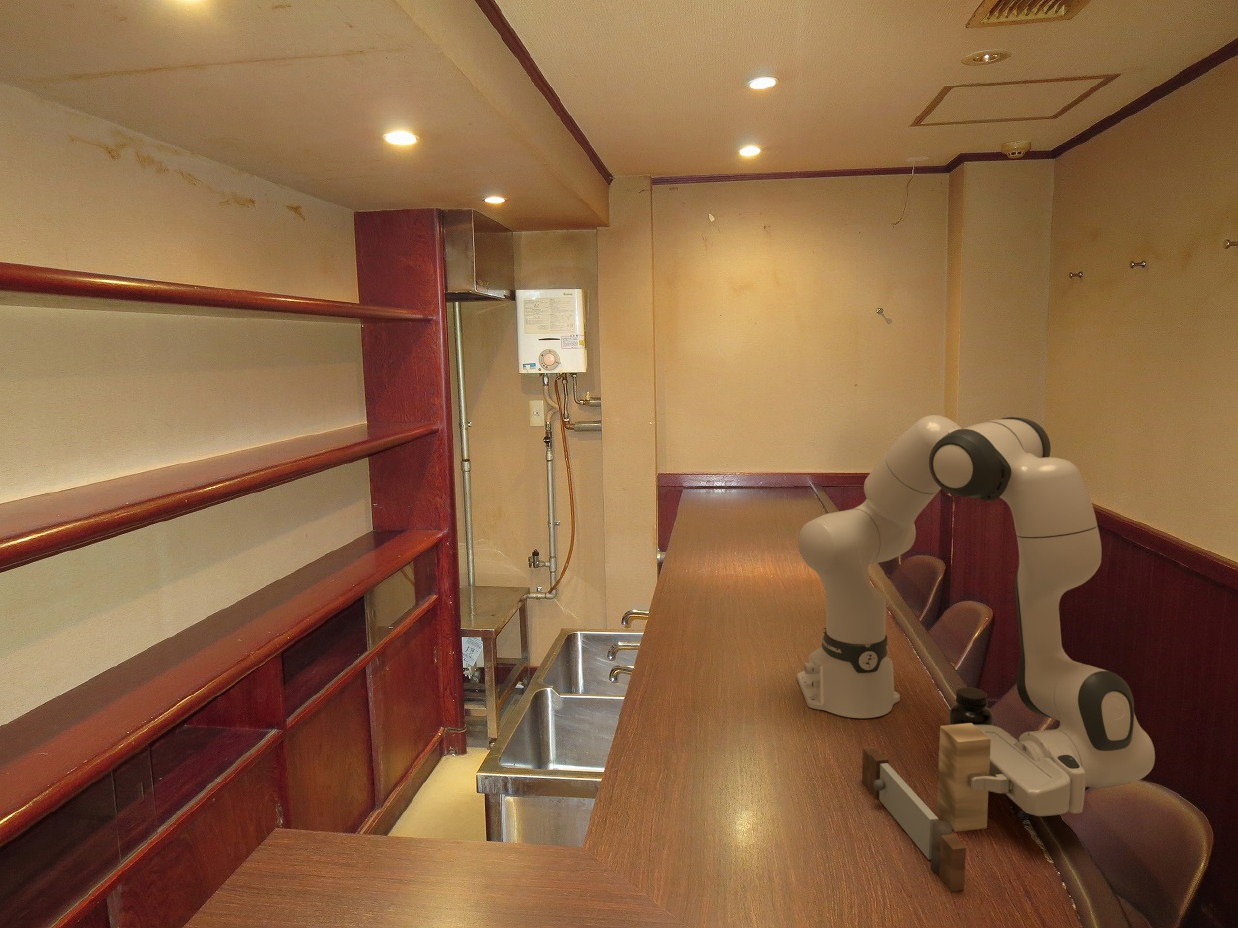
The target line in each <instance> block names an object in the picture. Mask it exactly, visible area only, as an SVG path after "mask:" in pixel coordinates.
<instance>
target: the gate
mask: <svg viewBox="0 0 1238 928" xmlns="http://www.w3.org/2000/svg"><path fill="white" fill-rule="evenodd" d="M874 787H875V789H876V790H878V791H879V799H878V800H879V801H880V802H881V804H882V805H883V806H884V807H885V808H886V810H887V811H888V812H889V813H890V815H891V816H892V817H893V818H894V820H895V821H896V822H897V823H898V825H899V826H900V827H901V828H902V829H903V830H904V831H905V833H906V834H907V835H908V836H909V838H910V839H911V841H912V842H914V844H915V845H916V846H917V847H918V848H919V850H920V851H921V852H922V854H923V855H924V856H925V857H926V858H927V860H930V861H931V851H932V824H933V822H934V821H937V820H939V818H938V817H937V815H936V814H934V812H933V811H932V810H931V809H930V808H929V807H928V806H927V805H926V803H924V801H923V800H922V798H920V797H919V796H918V795H917V794H916V792H915V791H914V790H913V789H912V788H911V787H910V786H909V785H908V783H906V782H905V781H904V780H903V778H902V777H901V776H900V775H899V774H898V773H897V772H896V771H895V769H894V768H893V767H892V766H891V765H890V764H889V762H888V763H884V764H880V780H876V781H875V782H874Z"/></svg>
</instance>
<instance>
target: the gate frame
mask: <svg viewBox="0 0 1238 928" xmlns="http://www.w3.org/2000/svg"><path fill="white" fill-rule="evenodd" d="M884 763H888V764H889V758H888V757H887V756H886V755H885V753H883V752H881V753H880V752H879V751H878V750H877V749H876V748H875V746H867V747H863V748H862V767H861V768H862V770H861V772H862V773H861V774H862V775H861V776H862V777H861V783H862V784H863V785H864V787H865V788H866V789H867V790H868V791H869V793H870V795H872V797H873V799H874V800H879V791H878V790H876V789H875V787H874V782H875V781H876V780H880V764H884ZM952 830H953V829H952V826H951V825H950V824H949V823H947V822H945V821H944V820H942V819H941V820H940V819H938V820H937V821H934V822H933V824H932V851H931V859H930V870H931V871H932V872H933V873H934V874H936V875H938V876H939V878H940V879H941V881H942V882H943V883H944V884H945V886H946V887H947V888H948V889H949V891H950V892H957V891H964V890H965V879H966V878H965V876H966V859H967V857H966V853H967V847H966V846H965V845H964V844H963V842H961V841H960V840H959V838H958V837H957V836H956V835H955V834H954V833H952V832H953V831H952Z"/></svg>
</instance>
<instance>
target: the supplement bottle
mask: <svg viewBox="0 0 1238 928" xmlns="http://www.w3.org/2000/svg"><path fill="white" fill-rule="evenodd" d="M955 696H956V697H955V702H956V703H954V704H953V705H951V707H950V709H949V718H948V719H949V721H948V722H949V723H948V725H955V724H966V723H972V724H973V725H993V726H994V714H993V711H991V709H990V708H989V707H988V694H987V692H985V691H984V690H982V689H980V688H975V687H960V688H958V689H957V690H956V695H955Z"/></svg>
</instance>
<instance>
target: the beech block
mask: <svg viewBox="0 0 1238 928" xmlns="http://www.w3.org/2000/svg"><path fill="white" fill-rule="evenodd" d="M938 747H939V750H938V770H937V771H938V774H937V776H938V777H937V800H936V802H937V804H936V813H937V815H939V816H940V818H941V820H942V821H945V822H947V823H949V824H950V825H951V826H952V830H953V832H954V833H957V832H966V831H968V832H969V831H974V830H984V829H987V828H988V827H987V826H988V810H989V809H988V807H989V806H988V804H989V791H987V790H973V789H972V788H971V787H970V786H969V785H968V783H967V781H968V775H969V774H975V773H980V774H981V775H982V776H989V769H990V747H991V739H990V738H989V737H988V736H987V735H986V734H984V733H983V732H982V731H981V730H979V729H978V728H977V727H976V726H974V725H973V724H972V723H966V724H955V725H949V724H947V725H940V726H939V745H938Z"/></svg>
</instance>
